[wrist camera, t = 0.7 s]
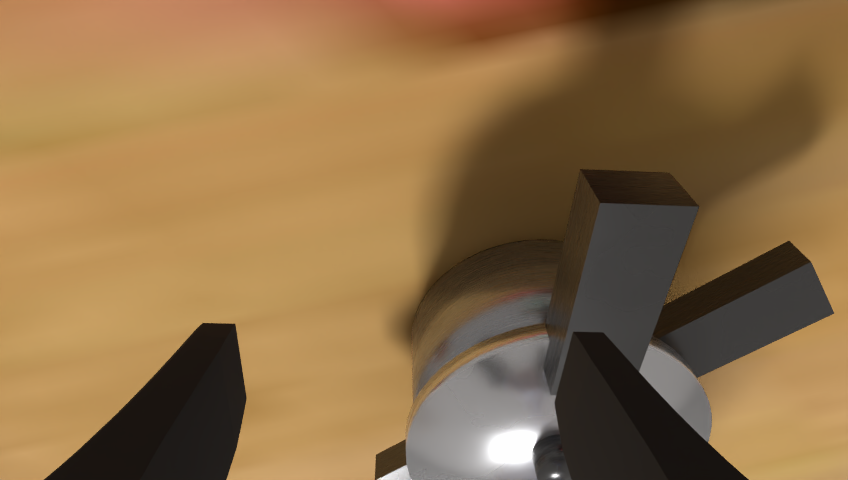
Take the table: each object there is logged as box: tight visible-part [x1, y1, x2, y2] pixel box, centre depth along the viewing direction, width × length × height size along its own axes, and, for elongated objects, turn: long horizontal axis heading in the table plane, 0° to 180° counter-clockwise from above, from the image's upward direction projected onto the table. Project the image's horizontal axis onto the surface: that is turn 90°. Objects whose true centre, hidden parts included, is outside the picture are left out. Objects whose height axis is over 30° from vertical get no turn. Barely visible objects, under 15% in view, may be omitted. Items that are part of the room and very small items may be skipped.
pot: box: [375, 240, 834, 480], centre depth 23 cm, size 17×10×5 cm, turn 127°
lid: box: [406, 169, 712, 480], centre depth 19 cm, size 16×11×2 cm
